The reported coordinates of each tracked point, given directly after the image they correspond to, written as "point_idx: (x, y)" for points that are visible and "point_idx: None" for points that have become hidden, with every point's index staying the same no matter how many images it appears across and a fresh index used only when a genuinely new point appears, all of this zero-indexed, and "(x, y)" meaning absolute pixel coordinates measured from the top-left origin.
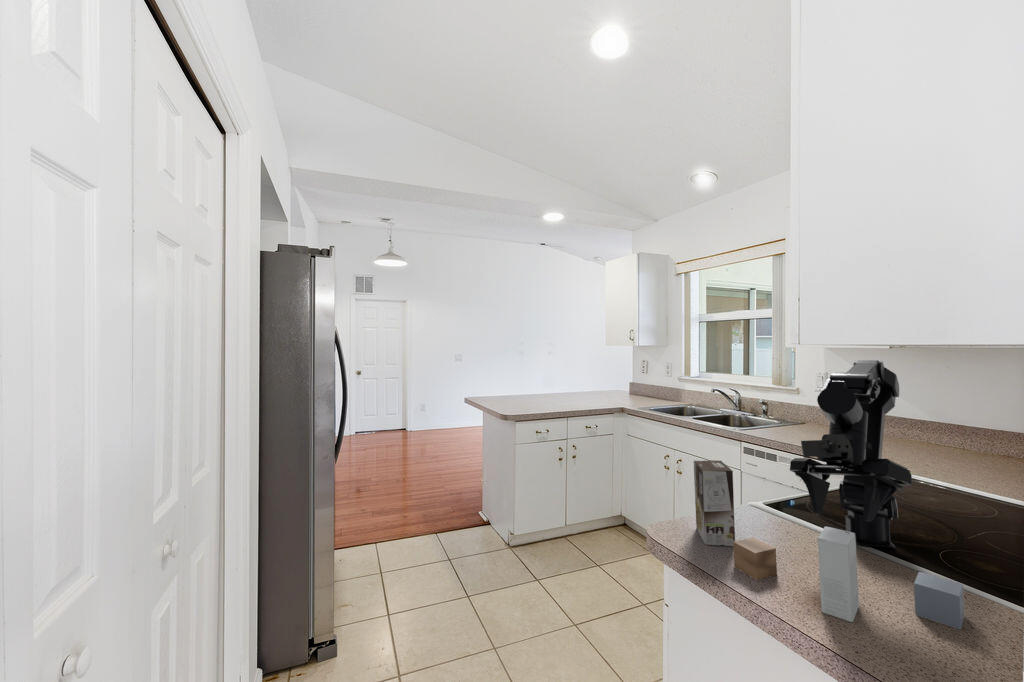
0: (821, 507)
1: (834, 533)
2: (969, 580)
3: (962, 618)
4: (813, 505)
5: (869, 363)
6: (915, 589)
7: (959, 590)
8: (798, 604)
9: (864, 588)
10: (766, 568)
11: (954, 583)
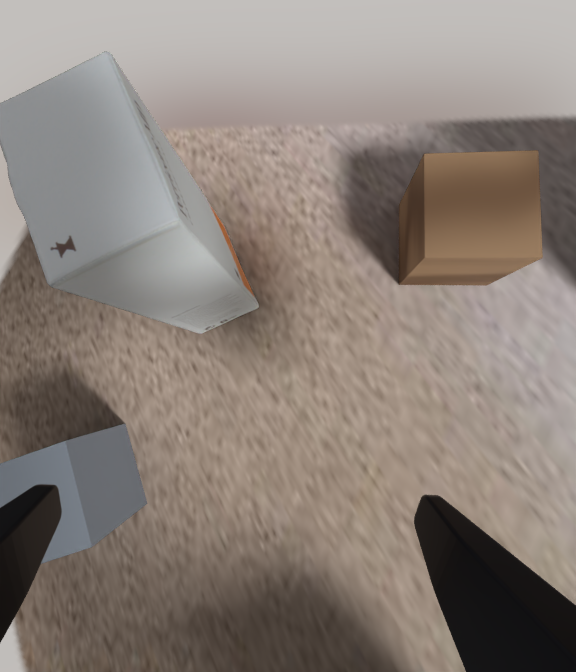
0: (437, 576)
1: (92, 170)
2: None
3: None
4: (472, 529)
5: None
6: (77, 438)
7: None
8: (269, 206)
9: (245, 440)
10: (405, 232)
11: None
